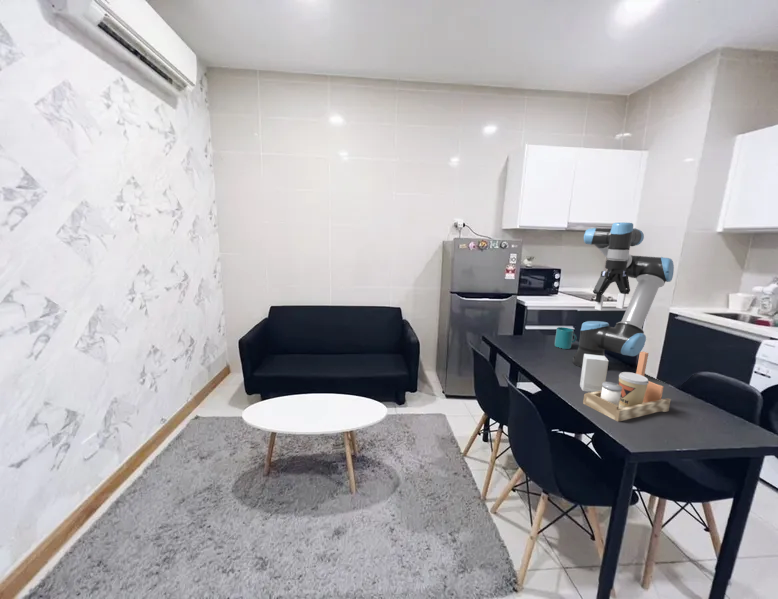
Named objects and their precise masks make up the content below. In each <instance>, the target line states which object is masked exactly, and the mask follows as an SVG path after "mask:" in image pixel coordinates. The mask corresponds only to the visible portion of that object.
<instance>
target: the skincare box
mask: <svg viewBox="0 0 778 599" xmlns="http://www.w3.org/2000/svg"><path fill="white" fill-rule="evenodd" d="M609 361H610V360H608V358H607V357H606V356H601V355H591V354H584V358H583V365H582V367H581V372H580V380H579V381H580V382H579V387H580V388H581V390H582V391H583V392H586V393H589V392H590V393H591V392H596V391H601V390H602V383H603V382H607V381H606V380H607V374H608V373H607V372H608V369H609V368H608V366H609Z"/></svg>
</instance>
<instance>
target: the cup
mask: <svg viewBox="0 0 778 599" xmlns="http://www.w3.org/2000/svg"><path fill="white" fill-rule="evenodd" d="M555 330H556V331H555V332H556V333H555V337H554V347H556V348H558V347H559V348H558V349H561V348H562V349H561V350H569V349H570V350H571V349H572V344H573V343H575V342H576V341H577V335H576V334H575V333H574V329H572V328H569V327H564V326H560V327H559V326H558V327H556V329H555ZM573 336H574V339H573Z"/></svg>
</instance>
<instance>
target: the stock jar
mask: <svg viewBox="0 0 778 599" xmlns="http://www.w3.org/2000/svg"><path fill="white" fill-rule="evenodd" d="M621 391H622V386H620V385H619V384H618V383H616V382H612V381H606V382H603V383H602V391H601V397H600V398H602V399H604V400H606V401H608V402H611V403H613V404H615V405H617V406H619V402H620V396H621Z"/></svg>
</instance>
